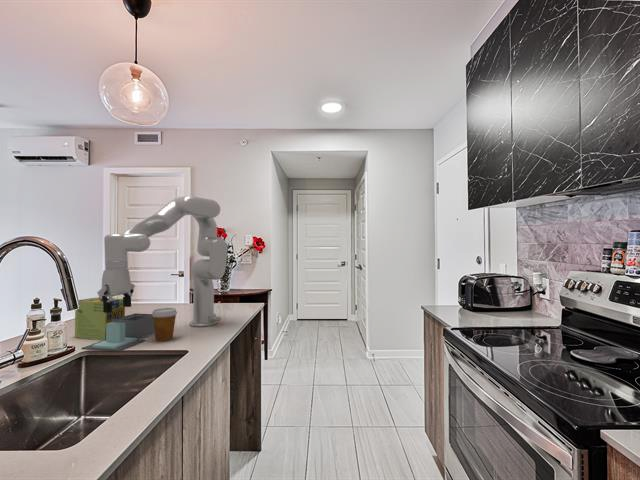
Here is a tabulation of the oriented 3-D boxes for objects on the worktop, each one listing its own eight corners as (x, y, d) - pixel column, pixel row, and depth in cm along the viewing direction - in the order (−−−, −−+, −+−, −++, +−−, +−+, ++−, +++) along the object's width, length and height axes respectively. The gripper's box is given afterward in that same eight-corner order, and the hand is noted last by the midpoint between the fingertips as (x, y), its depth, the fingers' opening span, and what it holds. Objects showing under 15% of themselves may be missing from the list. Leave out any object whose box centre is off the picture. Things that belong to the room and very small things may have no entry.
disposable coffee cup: (182, 337, 137) (182, 308, 137) (162, 344, 129) (162, 313, 129) (165, 335, 141) (166, 307, 141) (145, 340, 133) (146, 311, 133)
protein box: (105, 340, 134) (105, 302, 134) (74, 338, 137) (74, 300, 137) (125, 333, 144) (125, 297, 144) (95, 331, 147) (96, 296, 147)
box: (156, 331, 146) (157, 314, 146) (135, 340, 133) (135, 321, 133) (135, 330, 148) (135, 313, 148) (111, 338, 135) (112, 319, 135)
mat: (146, 340, 133) (146, 339, 133) (119, 351, 119) (119, 350, 119) (111, 338, 136) (111, 337, 136) (81, 348, 122) (81, 347, 122)
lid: (137, 339, 132) (137, 320, 133) (114, 348, 121) (114, 327, 121) (116, 338, 134) (116, 319, 134) (92, 347, 123) (92, 326, 123)
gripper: (125, 263, 137) (126, 304, 138) (89, 268, 120) (90, 314, 121) (140, 263, 136) (142, 304, 136) (106, 268, 119) (108, 315, 119)
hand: (117, 309), depth 128 cm, fingers open, 9 cm apart
